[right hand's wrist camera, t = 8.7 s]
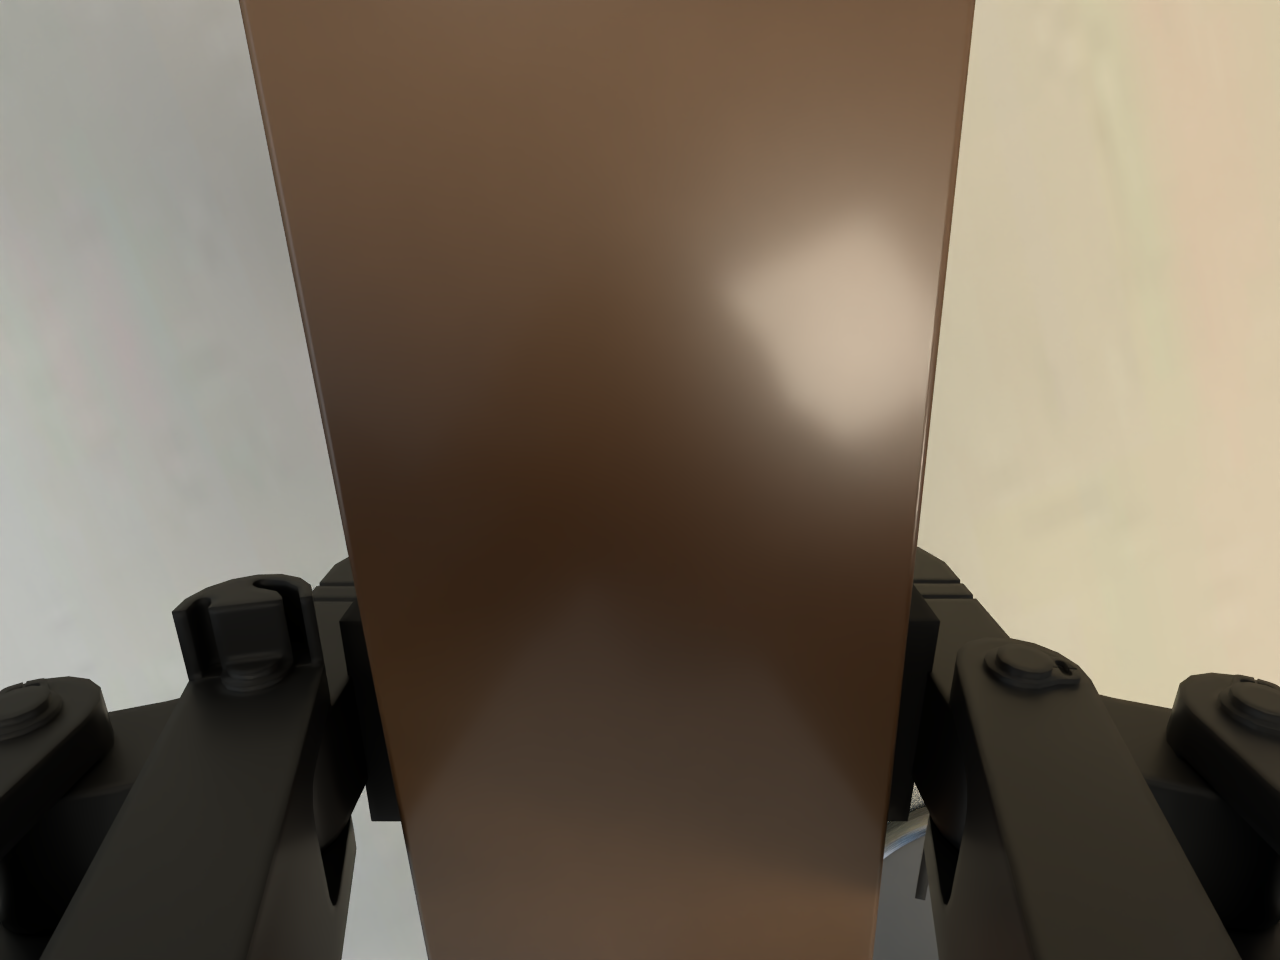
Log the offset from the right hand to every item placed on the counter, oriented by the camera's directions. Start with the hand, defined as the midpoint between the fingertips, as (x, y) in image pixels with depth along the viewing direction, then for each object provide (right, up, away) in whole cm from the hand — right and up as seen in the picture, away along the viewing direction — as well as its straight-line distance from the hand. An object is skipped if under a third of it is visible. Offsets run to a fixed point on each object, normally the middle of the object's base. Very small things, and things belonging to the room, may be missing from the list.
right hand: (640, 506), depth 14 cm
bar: (-1, +30, -11) cm, 32 cm away
